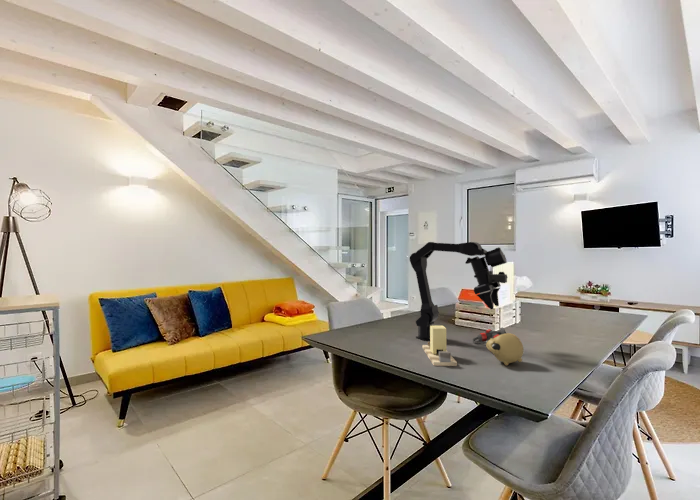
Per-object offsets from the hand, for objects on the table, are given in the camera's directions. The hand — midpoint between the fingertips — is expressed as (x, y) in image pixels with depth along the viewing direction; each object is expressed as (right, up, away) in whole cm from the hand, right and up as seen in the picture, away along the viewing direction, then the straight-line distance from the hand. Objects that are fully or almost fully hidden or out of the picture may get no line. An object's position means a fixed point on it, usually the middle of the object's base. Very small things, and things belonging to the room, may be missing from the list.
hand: (494, 307), depth 138 cm
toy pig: (-4, -17, -17) cm, 24 cm away
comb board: (-25, -17, -9) cm, 32 cm away
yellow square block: (-25, -15, -9) cm, 31 cm away
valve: (+2, -18, +6) cm, 19 cm away
